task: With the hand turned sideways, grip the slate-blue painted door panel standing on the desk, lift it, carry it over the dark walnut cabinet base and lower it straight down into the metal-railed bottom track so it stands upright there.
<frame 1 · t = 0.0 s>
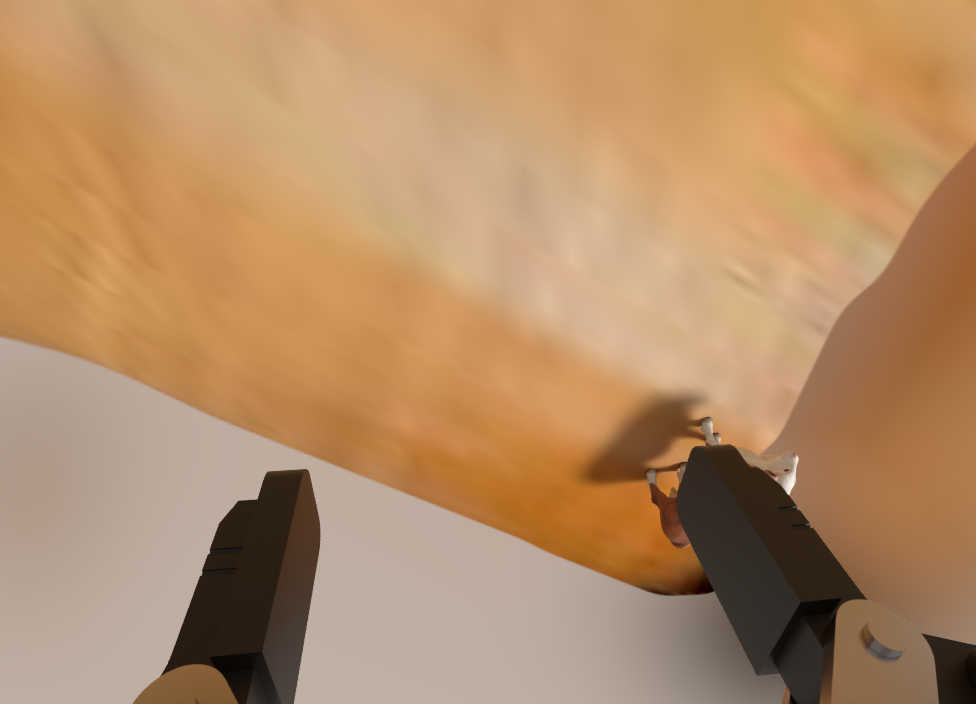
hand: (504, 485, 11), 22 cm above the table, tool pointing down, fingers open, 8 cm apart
bull figurine: (694, 442, 49), on the table
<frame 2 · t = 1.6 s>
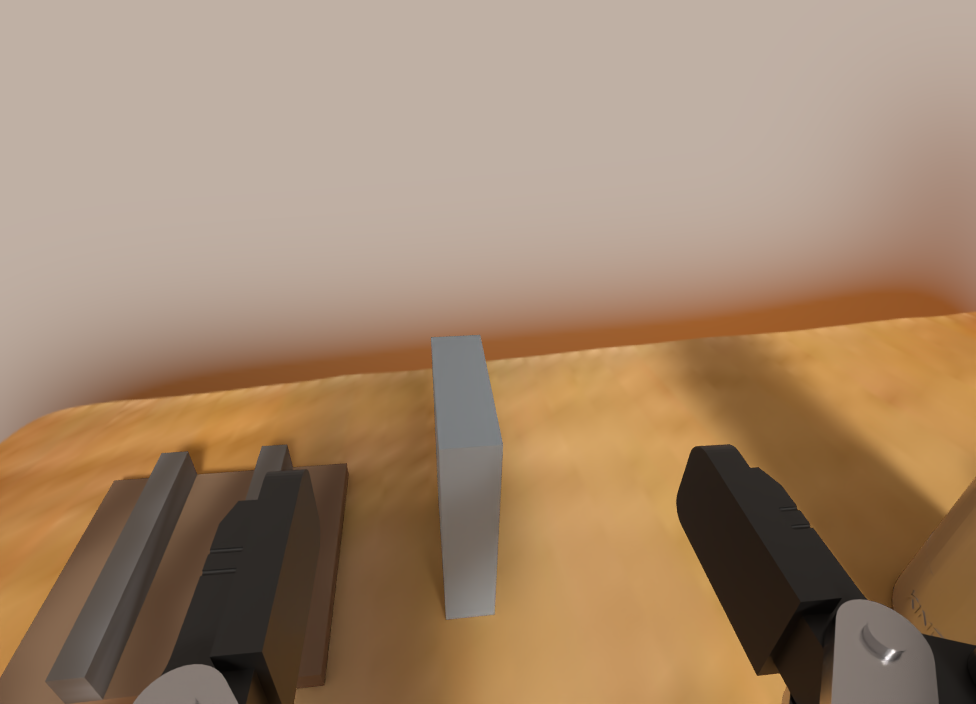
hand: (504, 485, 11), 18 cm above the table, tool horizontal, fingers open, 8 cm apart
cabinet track: (206, 573, 30), on the table
door panel: (463, 549, 31), on the table
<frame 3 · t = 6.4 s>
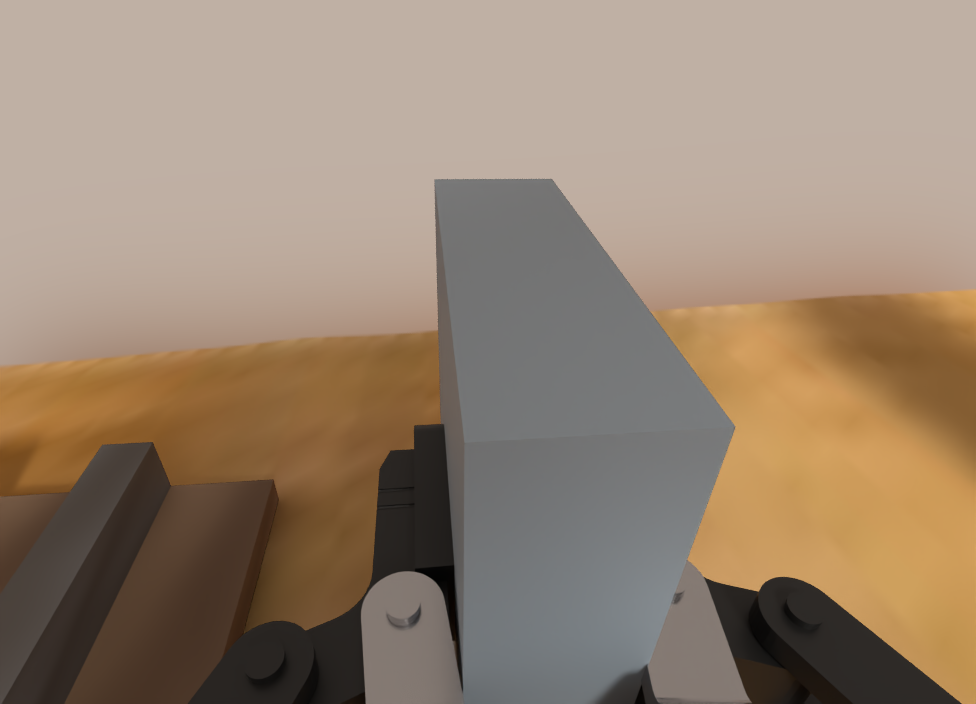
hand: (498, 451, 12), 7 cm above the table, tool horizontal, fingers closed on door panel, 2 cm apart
door panel: (497, 667, 15), on the table, touching gripper
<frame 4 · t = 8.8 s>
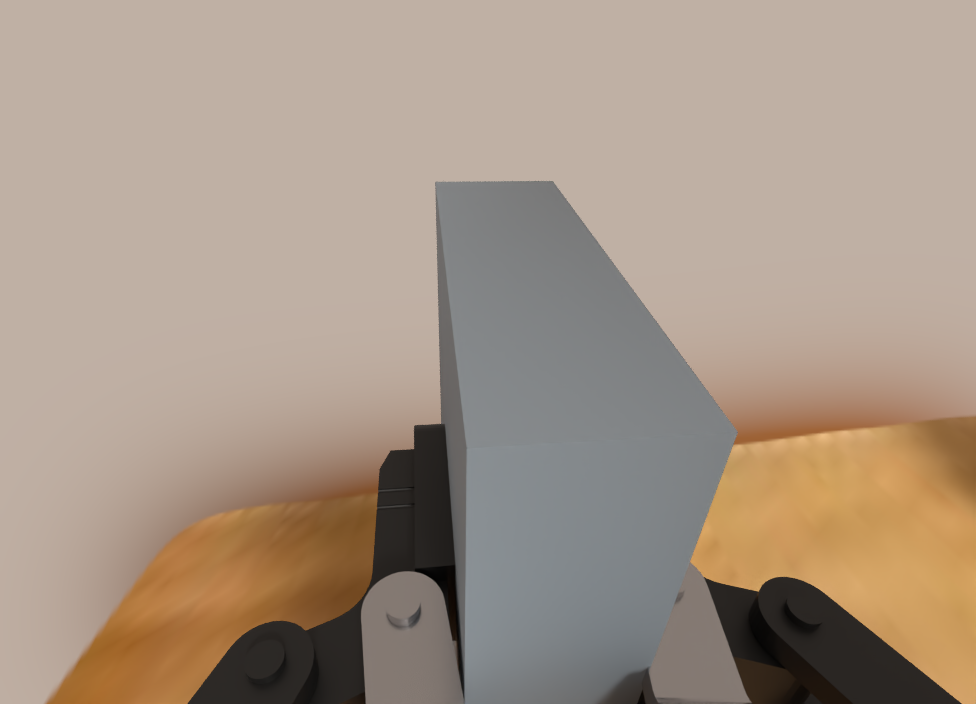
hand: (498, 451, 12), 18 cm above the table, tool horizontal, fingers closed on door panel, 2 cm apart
door panel: (497, 669, 15), point 11 cm above the table, touching gripper
when the fingers open (8 cm above the table, at t = 11.3 s): door panel stays where it is, resting on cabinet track.
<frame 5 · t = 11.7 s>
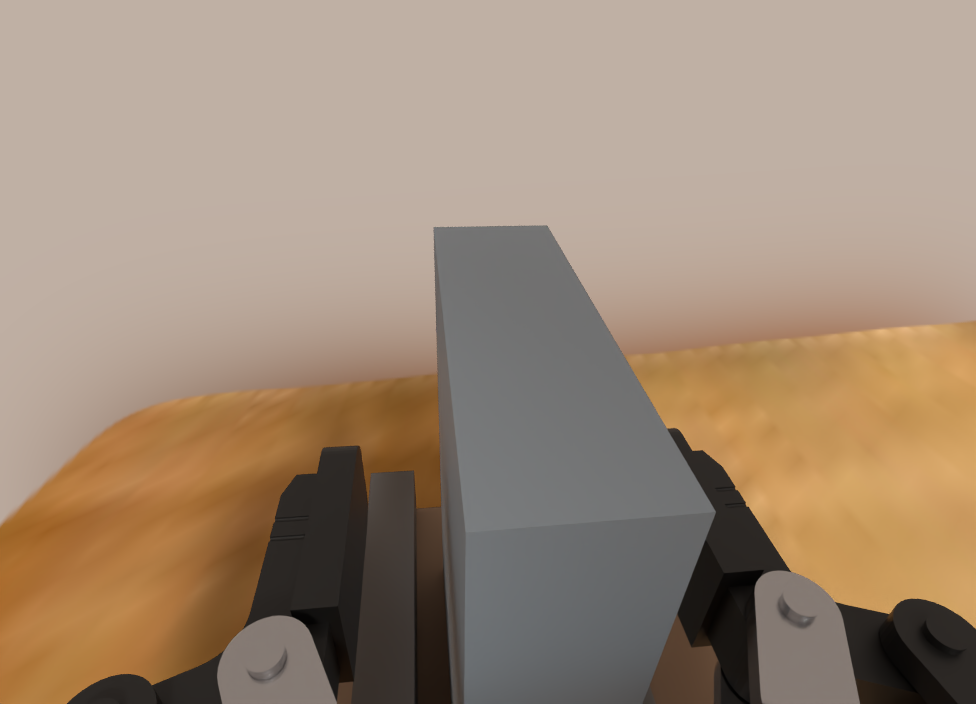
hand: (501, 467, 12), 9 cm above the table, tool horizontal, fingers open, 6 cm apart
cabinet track: (493, 702, 16), on the table
door panel: (495, 691, 15), point 1 cm above the table, touching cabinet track
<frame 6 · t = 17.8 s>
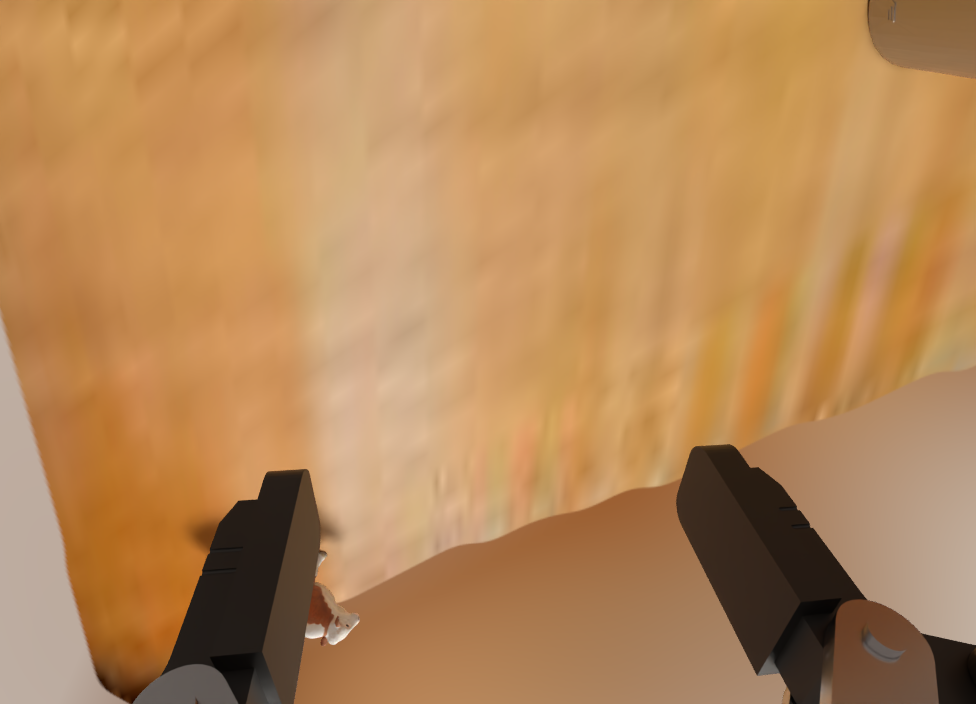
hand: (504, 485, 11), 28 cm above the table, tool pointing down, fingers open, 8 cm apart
bull figurine: (296, 564, 55), on the table
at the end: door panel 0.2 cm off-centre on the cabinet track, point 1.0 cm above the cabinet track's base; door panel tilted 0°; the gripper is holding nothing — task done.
